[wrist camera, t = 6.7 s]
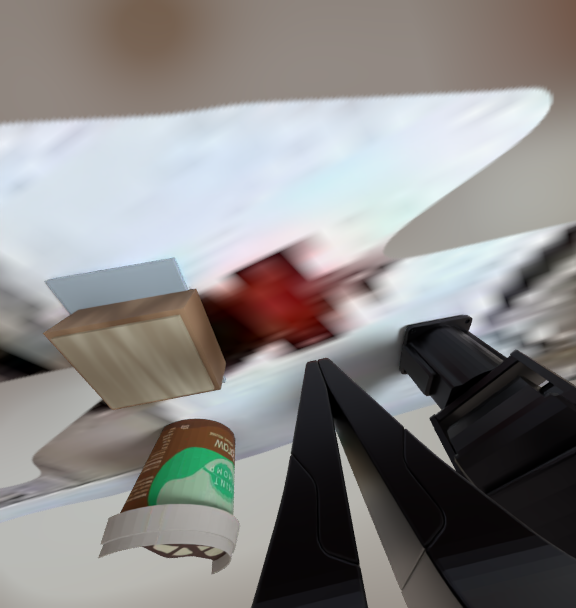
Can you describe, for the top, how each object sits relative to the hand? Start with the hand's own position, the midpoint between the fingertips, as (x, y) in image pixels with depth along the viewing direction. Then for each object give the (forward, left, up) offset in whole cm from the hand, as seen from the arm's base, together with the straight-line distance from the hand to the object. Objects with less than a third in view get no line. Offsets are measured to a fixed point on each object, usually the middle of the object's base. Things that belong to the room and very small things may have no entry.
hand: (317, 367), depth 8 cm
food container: (+12, +19, -10) cm, 25 cm away
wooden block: (+7, +4, -8) cm, 12 cm away
